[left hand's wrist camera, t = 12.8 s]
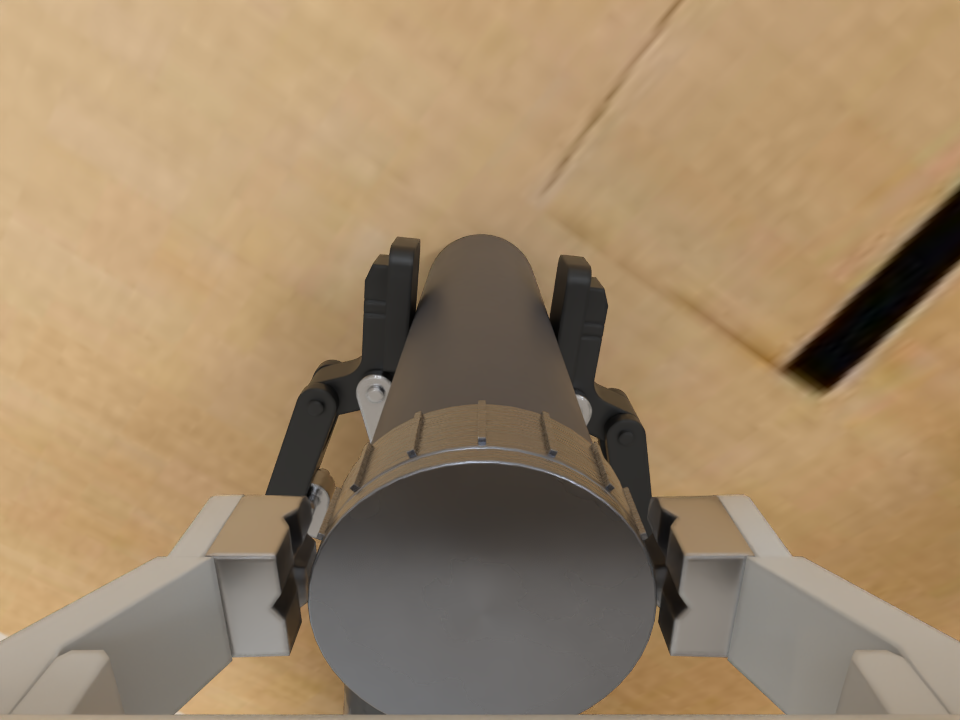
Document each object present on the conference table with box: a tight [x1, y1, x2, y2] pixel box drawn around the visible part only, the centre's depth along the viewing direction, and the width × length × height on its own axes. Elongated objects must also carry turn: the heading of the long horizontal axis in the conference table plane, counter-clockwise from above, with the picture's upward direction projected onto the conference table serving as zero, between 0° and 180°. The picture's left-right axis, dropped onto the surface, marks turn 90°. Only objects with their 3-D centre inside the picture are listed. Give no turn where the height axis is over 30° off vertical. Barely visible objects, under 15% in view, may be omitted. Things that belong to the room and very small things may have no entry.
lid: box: [308, 400, 657, 715], centre depth 9 cm, size 5×5×2 cm
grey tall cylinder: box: [371, 235, 593, 445], centre depth 17 cm, size 4×4×18 cm
